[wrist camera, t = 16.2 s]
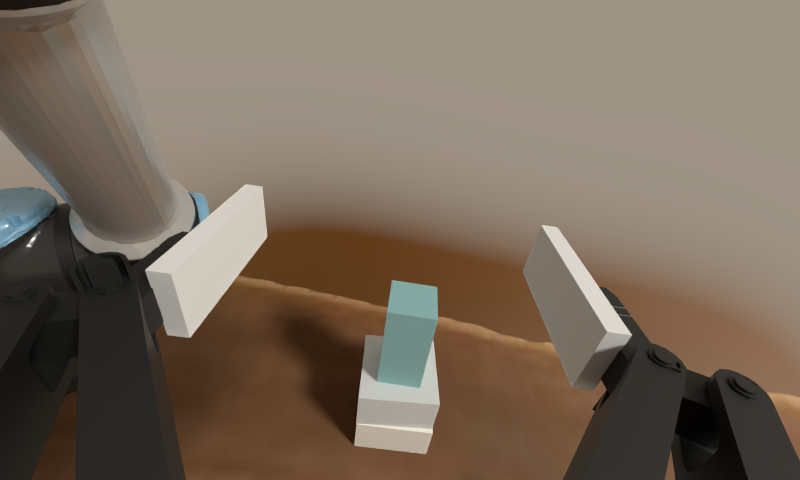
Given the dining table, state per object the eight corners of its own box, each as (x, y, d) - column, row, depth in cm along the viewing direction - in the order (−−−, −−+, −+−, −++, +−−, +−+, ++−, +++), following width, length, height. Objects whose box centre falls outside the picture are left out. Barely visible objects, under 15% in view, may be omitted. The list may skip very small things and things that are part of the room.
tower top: (355, 423, 39) (358, 398, 37) (363, 359, 47) (366, 334, 44) (431, 429, 40) (439, 404, 37) (427, 365, 48) (433, 341, 45)
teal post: (376, 381, 39) (387, 312, 33) (382, 347, 43) (392, 280, 37) (419, 388, 39) (437, 319, 33) (421, 353, 43) (437, 287, 37)
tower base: (354, 446, 42) (356, 424, 39) (364, 382, 50) (366, 360, 47) (425, 455, 42) (432, 433, 39) (424, 390, 50) (430, 368, 47)
